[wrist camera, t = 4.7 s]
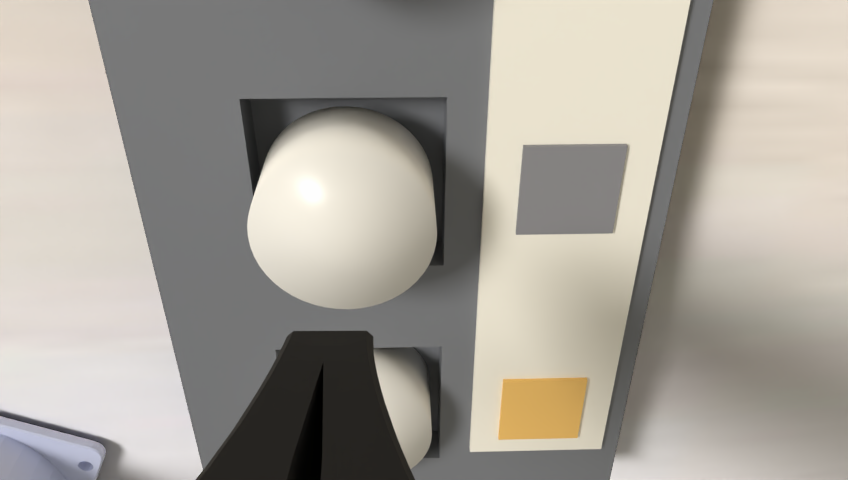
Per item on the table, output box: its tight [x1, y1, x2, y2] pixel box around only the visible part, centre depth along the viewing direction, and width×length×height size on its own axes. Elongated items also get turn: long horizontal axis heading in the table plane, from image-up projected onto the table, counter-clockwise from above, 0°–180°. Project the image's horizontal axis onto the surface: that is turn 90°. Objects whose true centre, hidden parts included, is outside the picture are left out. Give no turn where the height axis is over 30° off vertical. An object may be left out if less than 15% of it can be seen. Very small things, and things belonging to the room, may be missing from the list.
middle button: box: [247, 106, 437, 309], centre depth 18 cm, size 4×4×2 cm
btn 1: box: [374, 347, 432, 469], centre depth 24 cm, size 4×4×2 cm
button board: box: [88, 0, 713, 480], centre depth 20 cm, size 24×14×2 cm, turn 0°
